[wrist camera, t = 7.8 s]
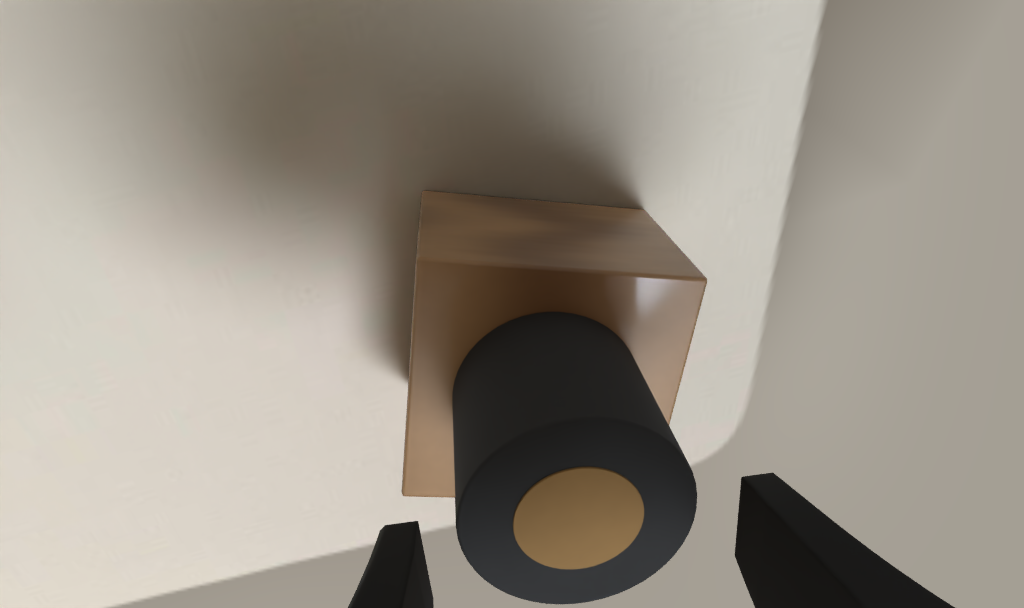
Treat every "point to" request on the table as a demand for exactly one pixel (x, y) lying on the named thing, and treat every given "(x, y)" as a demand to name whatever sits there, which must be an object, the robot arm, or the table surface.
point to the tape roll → (564, 463)
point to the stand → (535, 300)
